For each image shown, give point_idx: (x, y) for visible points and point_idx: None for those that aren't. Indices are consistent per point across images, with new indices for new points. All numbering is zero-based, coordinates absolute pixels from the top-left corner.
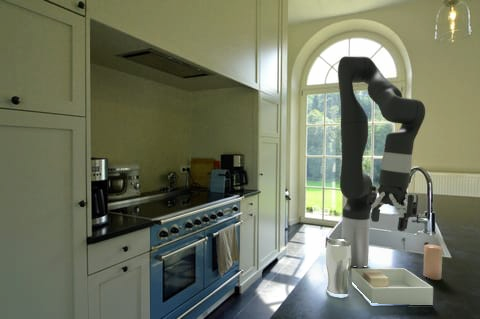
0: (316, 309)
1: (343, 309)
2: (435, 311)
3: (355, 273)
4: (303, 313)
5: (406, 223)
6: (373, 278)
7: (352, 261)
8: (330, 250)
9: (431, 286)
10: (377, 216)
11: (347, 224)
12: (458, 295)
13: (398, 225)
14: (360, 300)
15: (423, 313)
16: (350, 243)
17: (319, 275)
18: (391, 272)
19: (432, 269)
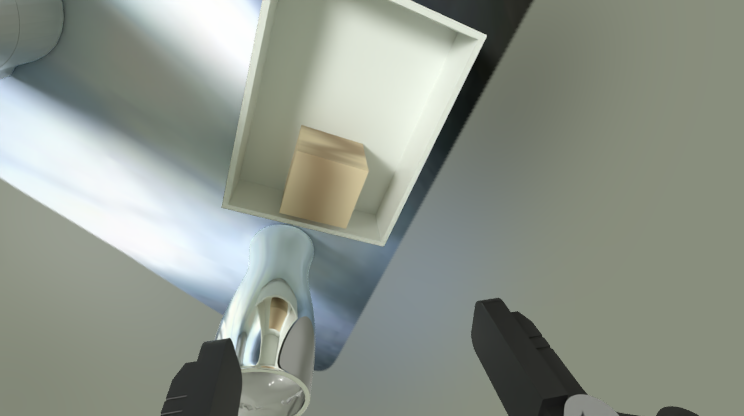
0: (335, 322)
1: (358, 278)
2: (483, 56)
3: (258, 213)
4: (339, 346)
5: (553, 364)
6: (348, 220)
7: (31, 54)
8: (275, 402)
9: (477, 31)
10: (225, 397)
11: None
12: None
13: (492, 375)
14: None
15: (469, 107)
16: (282, 373)
17: (142, 230)
18: (267, 30)
19: None
